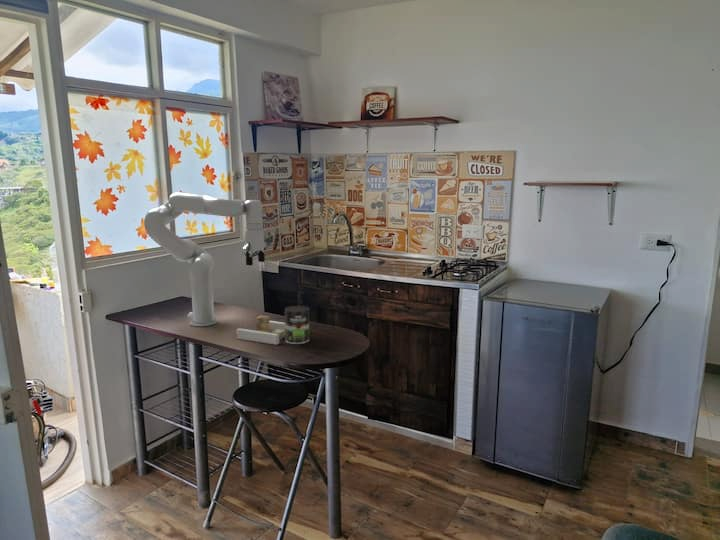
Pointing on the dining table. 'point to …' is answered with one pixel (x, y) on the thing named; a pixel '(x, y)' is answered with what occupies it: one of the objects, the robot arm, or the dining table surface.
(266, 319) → the wooden rectangular block
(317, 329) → the dining table surface
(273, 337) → the white rectangular posts
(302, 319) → the coffee can
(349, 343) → the dining table surface
